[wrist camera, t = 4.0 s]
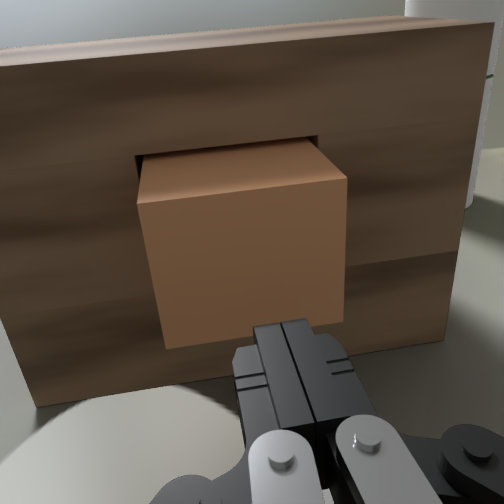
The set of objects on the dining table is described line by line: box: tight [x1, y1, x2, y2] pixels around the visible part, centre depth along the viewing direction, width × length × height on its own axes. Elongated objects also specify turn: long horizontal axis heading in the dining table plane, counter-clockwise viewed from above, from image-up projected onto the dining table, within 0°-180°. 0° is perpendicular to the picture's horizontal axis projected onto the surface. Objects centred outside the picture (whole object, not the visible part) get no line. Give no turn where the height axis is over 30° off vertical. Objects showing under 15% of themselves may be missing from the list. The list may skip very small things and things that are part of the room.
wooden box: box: [0, 15, 495, 407], centre depth 26 cm, size 10×22×16 cm, turn 99°
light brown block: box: [137, 136, 347, 349], centre depth 20 cm, size 8×7×6 cm
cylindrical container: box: [405, 0, 504, 208], centre depth 38 cm, size 7×7×25 cm
